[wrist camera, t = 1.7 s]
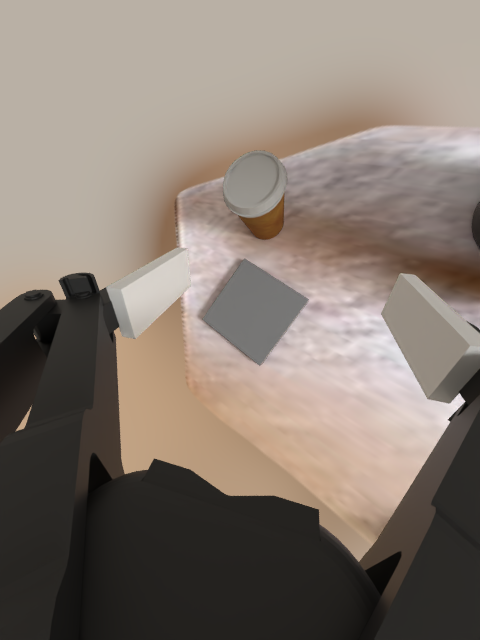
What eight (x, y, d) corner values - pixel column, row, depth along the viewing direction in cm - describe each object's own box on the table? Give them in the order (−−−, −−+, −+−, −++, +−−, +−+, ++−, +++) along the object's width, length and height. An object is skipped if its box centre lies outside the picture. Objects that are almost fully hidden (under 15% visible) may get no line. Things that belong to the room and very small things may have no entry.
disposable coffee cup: (282, 191, 42) (273, 134, 31) (299, 234, 40) (296, 191, 29) (237, 214, 44) (212, 168, 33) (251, 255, 42) (230, 223, 31)
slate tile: (246, 261, 43) (244, 258, 41) (308, 301, 38) (308, 299, 37) (205, 320, 44) (202, 319, 42) (261, 364, 40) (259, 365, 38)
